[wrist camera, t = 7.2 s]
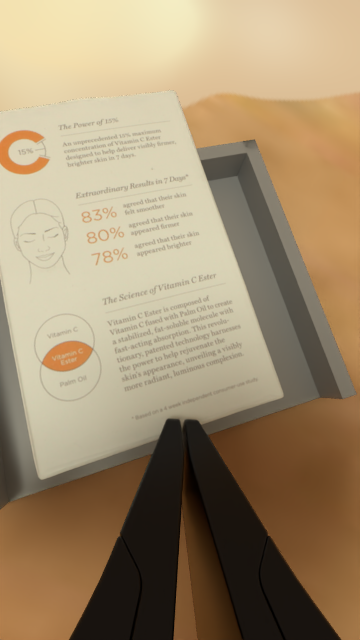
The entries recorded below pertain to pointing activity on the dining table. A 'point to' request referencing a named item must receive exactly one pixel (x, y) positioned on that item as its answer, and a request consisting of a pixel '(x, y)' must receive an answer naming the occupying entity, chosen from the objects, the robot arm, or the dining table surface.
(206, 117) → the dining table surface
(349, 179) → the dining table surface
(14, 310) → the small box
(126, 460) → the tray
